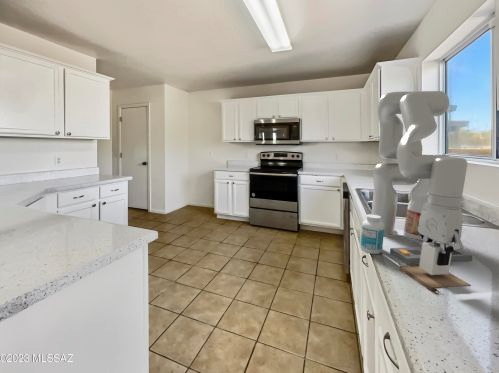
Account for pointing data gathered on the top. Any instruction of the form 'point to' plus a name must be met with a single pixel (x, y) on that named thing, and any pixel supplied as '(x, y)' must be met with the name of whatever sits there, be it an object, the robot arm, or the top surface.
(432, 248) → the block
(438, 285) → the walnut mat
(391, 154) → the robot arm
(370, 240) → the pill bottle
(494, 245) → the top surface
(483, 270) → the top surface
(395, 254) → the power strip
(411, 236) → the fruit juice
